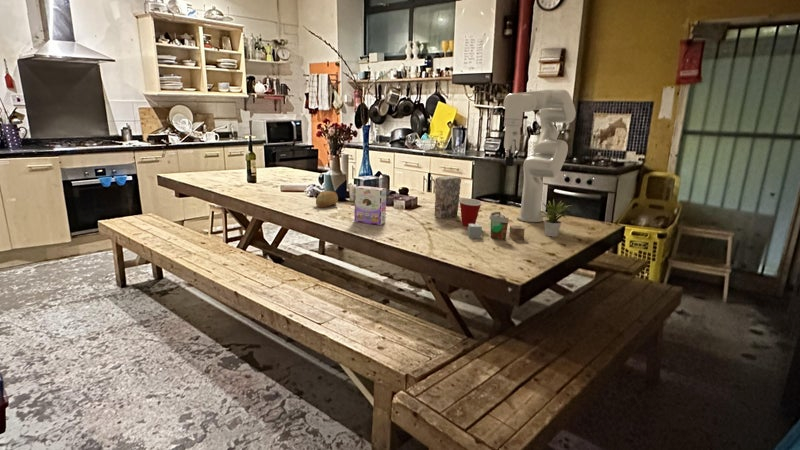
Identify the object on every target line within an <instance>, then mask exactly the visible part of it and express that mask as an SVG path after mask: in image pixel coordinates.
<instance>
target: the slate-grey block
mask: <svg viewBox="0 0 800 450" xmlns="http://www.w3.org/2000/svg"><path fill="white" fill-rule="evenodd" d="M482 229H483V226H482V225H481V224H480V223H475V224H468V227H467V237H468V238H469V239H482Z"/></svg>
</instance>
